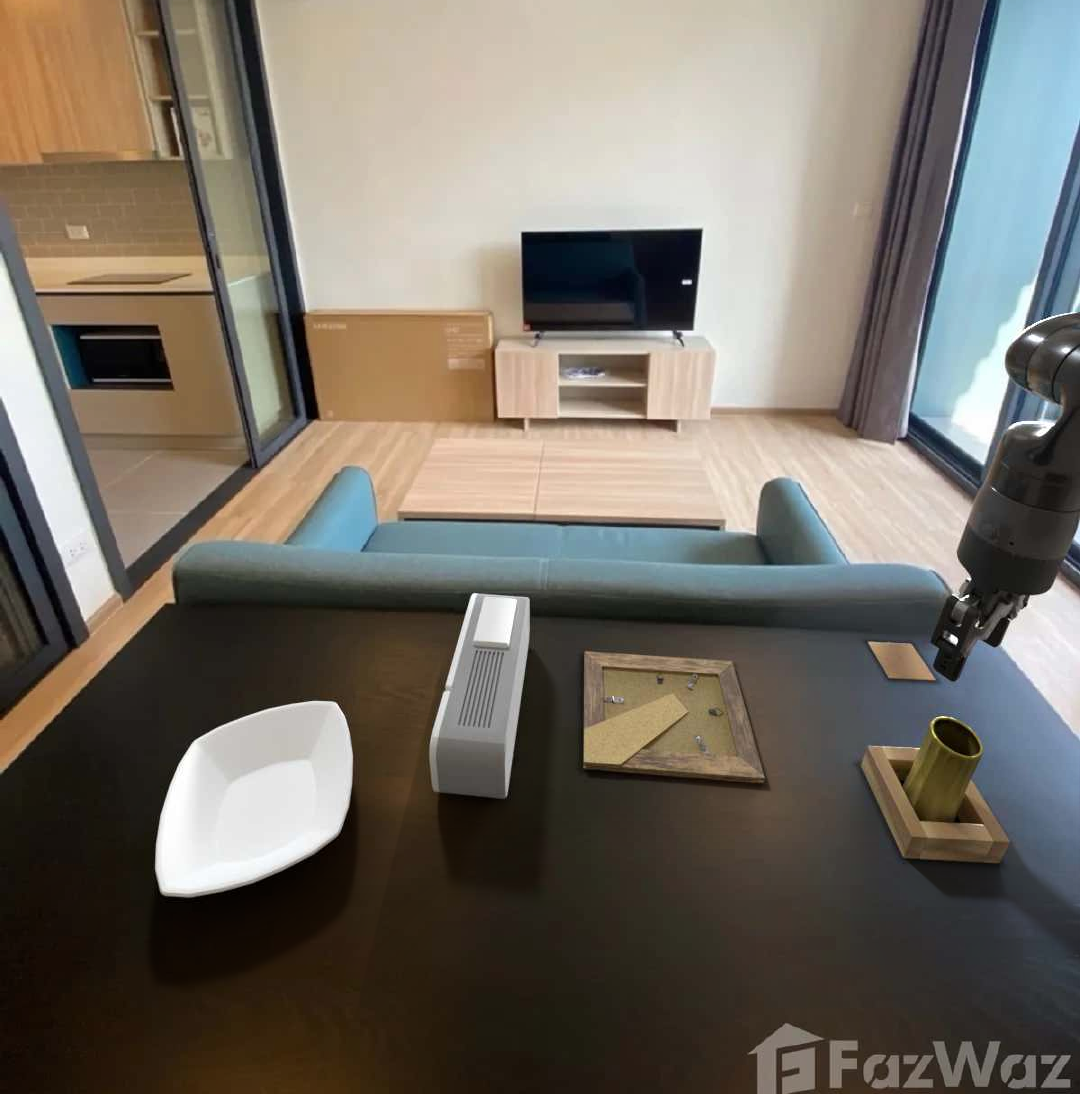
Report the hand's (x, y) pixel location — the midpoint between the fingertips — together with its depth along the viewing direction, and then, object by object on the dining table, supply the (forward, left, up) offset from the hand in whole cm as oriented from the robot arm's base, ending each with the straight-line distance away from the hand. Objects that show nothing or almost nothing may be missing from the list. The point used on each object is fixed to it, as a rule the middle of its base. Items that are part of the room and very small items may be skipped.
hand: (966, 656), depth 61 cm
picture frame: (+27, -13, -28) cm, 42 cm away
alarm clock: (+53, -12, -28) cm, 62 cm away
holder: (-4, -1, -28) cm, 29 cm away
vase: (-4, -1, -28) cm, 29 cm away
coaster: (-13, -25, -28) cm, 40 cm away
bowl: (+79, +3, -28) cm, 84 cm away
